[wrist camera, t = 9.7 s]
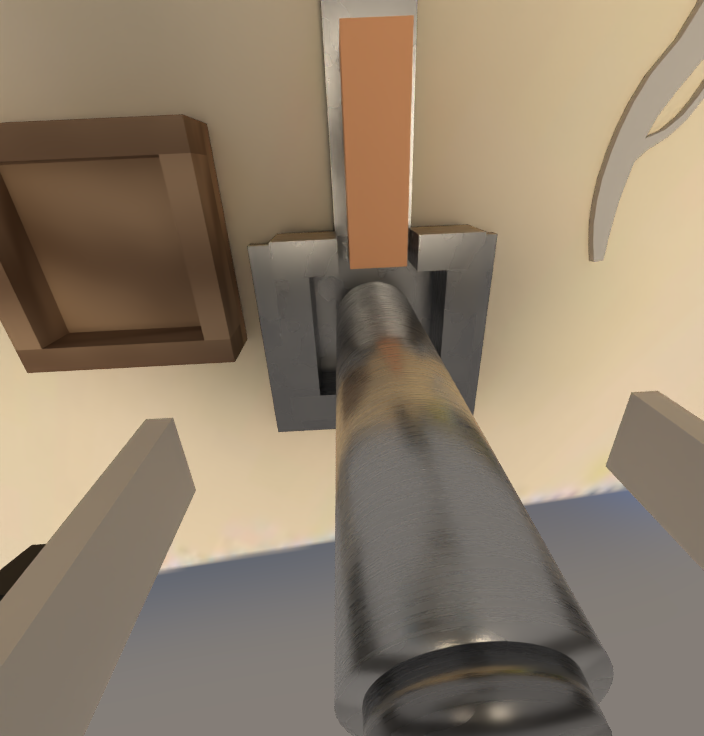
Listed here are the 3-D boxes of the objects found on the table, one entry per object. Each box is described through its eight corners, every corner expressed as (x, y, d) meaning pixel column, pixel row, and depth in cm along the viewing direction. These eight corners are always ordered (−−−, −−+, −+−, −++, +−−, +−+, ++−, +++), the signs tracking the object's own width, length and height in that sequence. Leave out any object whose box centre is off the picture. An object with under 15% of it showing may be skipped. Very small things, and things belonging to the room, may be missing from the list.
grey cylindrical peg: (333, 283, 19) (321, 697, 4) (413, 279, 19) (697, 672, 4) (338, 355, 20) (342, 817, 6) (410, 351, 20) (597, 800, 6)
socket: (189, -123, 13) (148, -206, 10) (540, -137, 13) (596, -222, 10) (279, 425, 23) (272, 459, 21) (469, 415, 23) (486, 447, 21)
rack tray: (-30, 134, 16) (-99, 127, 13) (206, 123, 16) (182, 114, 13) (65, 348, 20) (27, 372, 18) (247, 339, 20) (234, 362, 18)
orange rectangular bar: (339, 42, 14) (339, 18, 12) (402, 39, 14) (413, 15, 12) (348, 257, 18) (350, 269, 16) (398, 255, 18) (407, 266, 16)
